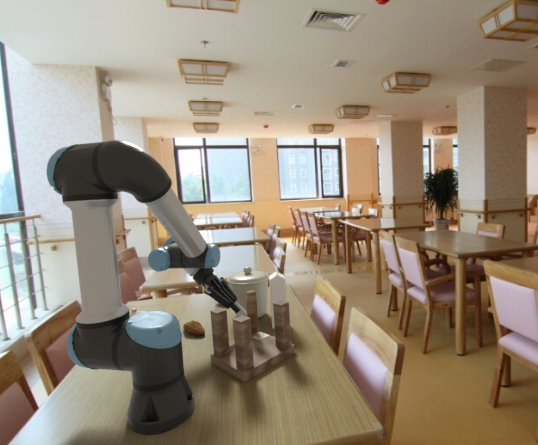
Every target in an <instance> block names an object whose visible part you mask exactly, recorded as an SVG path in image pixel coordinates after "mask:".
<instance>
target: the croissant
mask: <svg viewBox="0 0 538 445" xmlns="http://www.w3.org/2000/svg"><path fill="white" fill-rule="evenodd" d="M182 327H183V328H182V329H183V330H184V332H186V334H188V335H190V336H194V337H198V338H199V337H200V338H201V337H205V334H206V331H205V328H204V327H203V325H202V324H201V322H200V321H199V320H190V321H187V322H185V323H184V324H183V326H182Z"/></svg>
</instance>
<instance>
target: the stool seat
mask: <svg viewBox="0 0 538 445" xmlns="http://www.w3.org/2000/svg"><path fill="white" fill-rule="evenodd" d="M227 310H228V309H227V308H223V307H216V308H214V309H212V310H210V322H211V324H210V325H211V336H212V346H213V347H212V348H213V353H211V354H210V364H212V365H214V366H215V367H217V368H219V369H221V370H222V371H224V372H225V373H228V374H229V375H231V376H233V377H234V378H236V379H238V380H240V381H241V382H242V383H247V382H248V381H250V380H251V379H253V378H255V377H256V376H258V375H260V374H262V373H263V372H265V371H266V370H269V369H270V368H272V367H273V366H275V365H276V364H279V363H280V362H282V361H284V360H285V359H288V357H290V356H292V355H293V354H295V353H296V347H295V346H296V345H295V344H294V343H292V334H291V332H292V331H291V317H290V316H291V315H290V302H289V301H283V300H279V301H277V302H274V303H273V310H274V326H275V329H274V336H273V335H270V334H268V333H265V332H262V331H259V332H258V333H256V334H255V335H254V336H253V337H252V331H251V318H249V317H246V316H243V315H242V316H240V317H237V316H236V317H235V318H232V326H233V338H234V339H233V341H234V343H233V344H231V345H230V337H229V324H228V311H227Z"/></svg>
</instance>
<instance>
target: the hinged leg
mask: <svg viewBox="0 0 538 445" xmlns="http://www.w3.org/2000/svg"><path fill="white" fill-rule="evenodd" d="M246 304H247V317H249V318H251V331H252V337H253V336H254V335H255V334H256V333H258V332H260V330H259V329H260V327H259V318H258V311H257V297H256V291H253V290H251V291H247V292H246Z"/></svg>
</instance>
